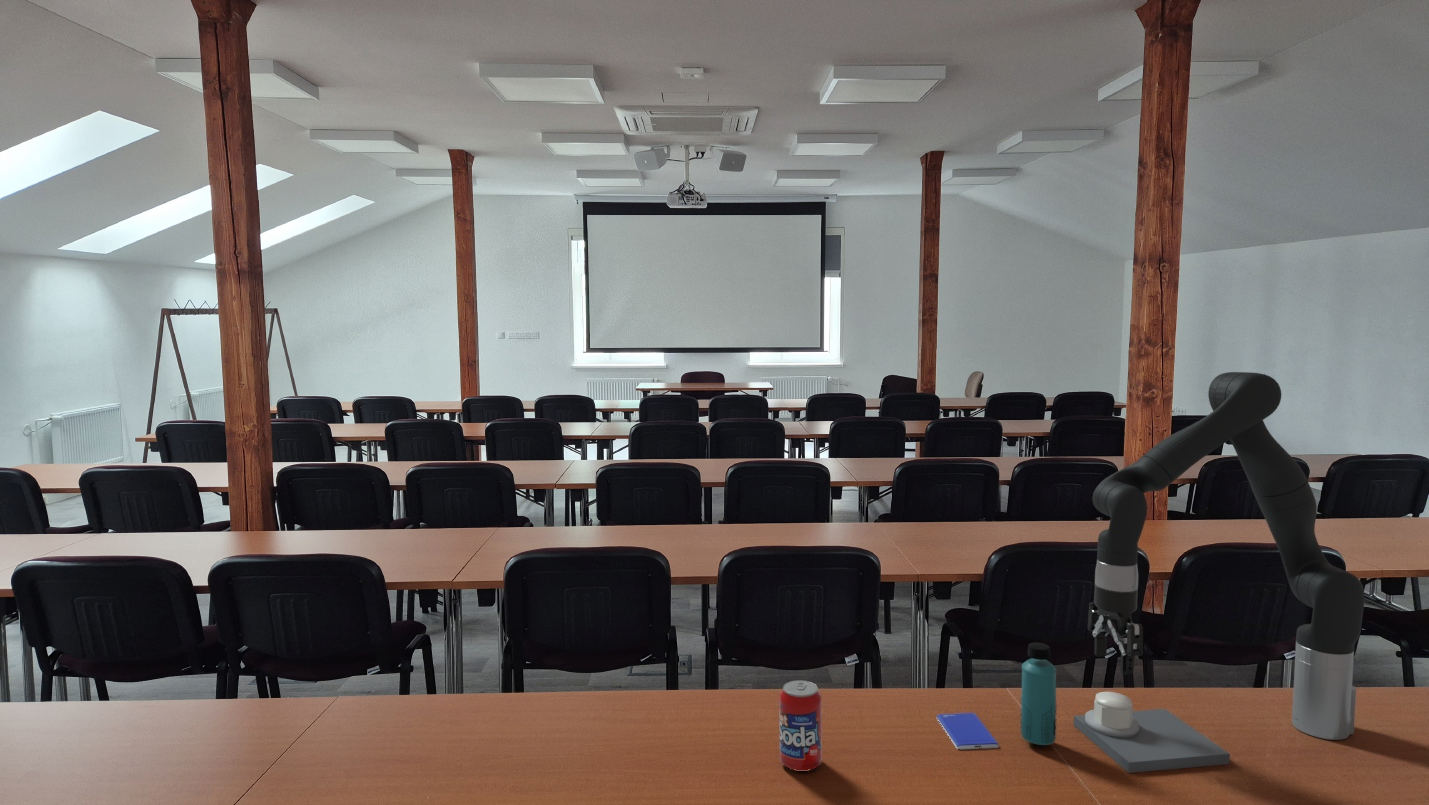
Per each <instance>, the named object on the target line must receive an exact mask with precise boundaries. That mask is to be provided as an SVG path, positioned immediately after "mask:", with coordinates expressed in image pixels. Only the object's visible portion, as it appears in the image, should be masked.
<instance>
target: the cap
mask: <svg viewBox="0 0 1429 805" xmlns="http://www.w3.org/2000/svg"><path fill="white" fill-rule="evenodd" d="M1133 707H1134V704H1133V702H1132V699H1131V698H1130V697H1128V696H1126V695H1124V694H1122V693H1119V692H1114V691H1102V692H1101V691H1100V692H1097V693H1096V694H1095V698H1094V701H1093V709H1094V719H1095V720H1096V721H1097V722H1098V723H1099V724H1101V725H1103V726H1106V727H1110V728H1114V729H1126V728H1130V726H1131V724H1132V717H1133V711H1134V708H1133Z"/></svg>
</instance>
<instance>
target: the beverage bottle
mask: <svg viewBox="0 0 1429 805" xmlns="http://www.w3.org/2000/svg"><path fill="white" fill-rule="evenodd" d="M1027 656H1028V657H1029V659H1026V661H1024V662H1023V663H1022V664H1021V693H1020V694H1021V695H1020V696H1021V697H1020V704H1021V705H1020V708H1021V709H1020V725H1019V726H1020V734H1021V736H1022V738H1023V739H1024V740H1025V741H1026V742H1028V743H1031V744H1032V745H1033V744H1034V745H1038V746H1047V745H1048V746H1049V745H1052V744H1053V743H1055V741H1056V739H1057V737H1056V736H1057V728H1058V727H1057V724H1058V723H1057V714H1058V713H1057V709H1058V708H1057V706H1058V705H1057V668H1056V667H1055V666H1054V665H1053V664H1052V663H1051V662H1050V661H1048V660H1050V659H1051V647H1050V646H1049V645H1048V644H1046V643H1043V642H1030V643H1029V644H1028V648H1027Z"/></svg>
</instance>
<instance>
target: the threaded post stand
mask: <svg viewBox="0 0 1429 805" xmlns="http://www.w3.org/2000/svg"><path fill="white" fill-rule="evenodd" d="M1073 726H1074V728H1076V729H1077V730H1078V731H1079V732H1081V733H1082V734H1083V735H1084V736H1085V737H1086V738H1087V739H1088V740H1090V741H1091V742H1092V743H1093V744H1095V745H1096V746H1097V747H1098V748H1099V749H1100V750H1101V751H1103V752H1104V753H1105V754H1106V755H1107V756H1108V757H1109V758H1111V759H1112V760H1113V761H1114V762H1115V763H1116V764H1117V765H1119V766H1120V767H1121V768H1122V769H1123V770H1124V771H1125V772H1127V773H1128V774H1130V773H1131V774H1132V773H1143V772H1154V771H1165V770H1178V769H1179V770H1180V769H1189V768H1198V767H1199V768H1200V767H1211V766H1221V765H1230V757H1231V753H1229V752H1228V751H1226V749H1224V748H1222V747H1221V746H1220V745H1218V744H1217V743H1215V742H1214V741H1212V740H1211V739H1209V738H1208V737H1206V736H1205V735H1204V734H1203V733H1201V732H1199V730H1197V729H1195V728H1193V727H1192V726H1191V725H1189V724H1188V723H1186V722H1185V721H1184V720H1182V719H1180V718H1179V717H1177V716H1176V715H1175V714H1174V713H1172V712H1170V711H1169V710H1168V709H1166V708H1158V709H1157V708H1156V709H1155V708H1154V709H1146V710H1145V709H1144V710H1142V709H1141V710H1133V717H1132V724H1131V726H1130V728H1126V729H1114V728H1110V727H1106V726H1103V725H1101V724H1099V723H1098V722H1097V721H1096V720H1095V719H1094V708H1093V709H1090V710H1088V711H1087V712H1085V714H1081V715H1073Z"/></svg>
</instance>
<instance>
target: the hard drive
mask: <svg viewBox="0 0 1429 805" xmlns="http://www.w3.org/2000/svg"><path fill="white" fill-rule="evenodd" d="M937 719H938V720H937ZM936 720H937V722H938V721H939V722H940V723H939V722H938V723H939V725H940V724H941V725H942V726H941V725H940V726H941V728H942V727H943V728H942V730H945V731H944V732H945V733H947V734H946V735H947V736H949V737H948V738H949V740H950V739H951V740H950V741H951V742H952V744H953V745H954V747H955V749H956V750H957V749H960V750H975V749H976V750H977V749H978V750H979V748H980V750H981V748H982V749H997V748H998V749H999V747H1000V746H999V742H998V741H997V740H996V739H995V738H994V736H993V735H992V733H991V732H990V731H989V730H988V728H987V727H986V726H985V724H984V723H983V722H982V721H981V719H980V718H979V716H978V715H977V714H976V713H975V712H958V713H942V714H941V713H939V714H937V715H936Z"/></svg>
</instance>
